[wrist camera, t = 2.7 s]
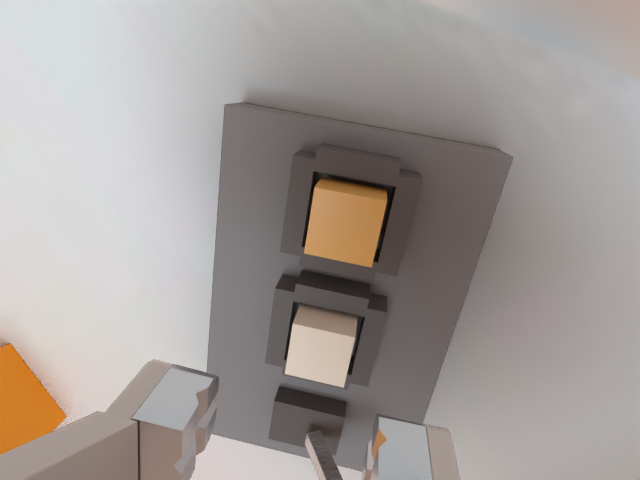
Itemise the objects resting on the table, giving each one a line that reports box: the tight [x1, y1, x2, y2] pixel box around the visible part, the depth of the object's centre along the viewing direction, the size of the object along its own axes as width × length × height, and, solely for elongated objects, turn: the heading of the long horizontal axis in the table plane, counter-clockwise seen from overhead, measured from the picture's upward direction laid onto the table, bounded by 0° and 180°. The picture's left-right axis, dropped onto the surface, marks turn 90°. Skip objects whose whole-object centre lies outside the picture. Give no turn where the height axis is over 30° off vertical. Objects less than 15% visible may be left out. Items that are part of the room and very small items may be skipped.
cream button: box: [285, 303, 358, 388], centre depth 24 cm, size 4×4×2 cm
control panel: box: [207, 103, 513, 471], centre depth 27 cm, size 16×25×5 cm, turn 171°
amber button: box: [304, 177, 387, 268], centre depth 21 cm, size 4×4×2 cm
